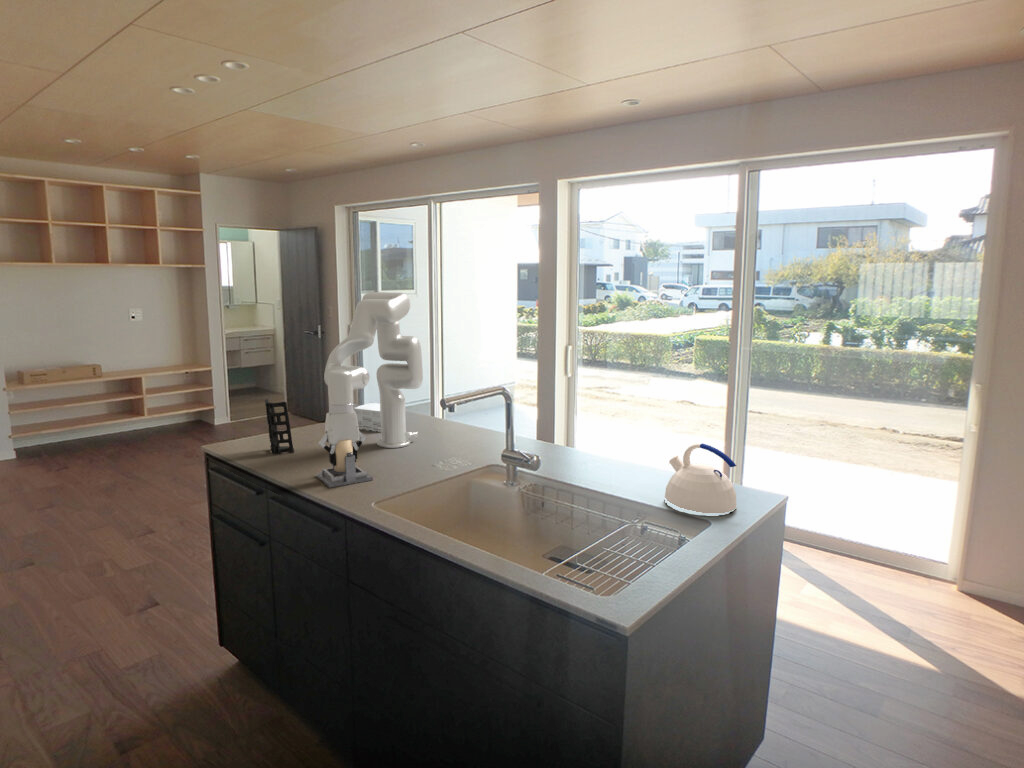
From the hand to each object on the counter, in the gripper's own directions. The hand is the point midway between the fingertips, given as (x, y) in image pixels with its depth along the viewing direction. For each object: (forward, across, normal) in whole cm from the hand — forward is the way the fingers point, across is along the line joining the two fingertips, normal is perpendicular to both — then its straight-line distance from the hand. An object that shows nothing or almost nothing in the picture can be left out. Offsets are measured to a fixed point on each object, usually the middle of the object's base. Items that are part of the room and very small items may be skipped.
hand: (343, 462), depth 206 cm
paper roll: (+2, 0, 0) cm, 2 cm away
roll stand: (+5, 0, 0) cm, 5 cm away
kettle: (+6, -79, +78) cm, 111 cm away
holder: (+5, +10, -43) cm, 44 cm away
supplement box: (+6, -35, -61) cm, 71 cm away
